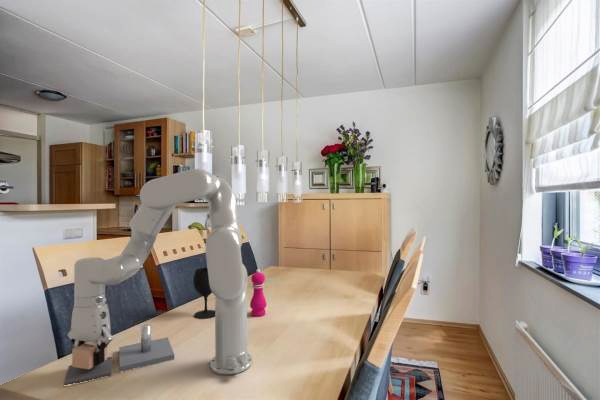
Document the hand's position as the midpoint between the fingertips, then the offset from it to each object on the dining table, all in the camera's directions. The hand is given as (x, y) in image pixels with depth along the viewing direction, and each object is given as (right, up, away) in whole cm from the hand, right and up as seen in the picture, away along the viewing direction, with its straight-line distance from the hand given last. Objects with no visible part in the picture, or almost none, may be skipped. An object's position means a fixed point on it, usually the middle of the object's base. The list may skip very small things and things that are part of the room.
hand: (89, 361), depth 92 cm
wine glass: (+20, -4, +47) cm, 51 cm away
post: (+11, -2, +10) cm, 15 cm away
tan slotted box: (0, 0, 0) cm, 0 cm away
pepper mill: (+43, -4, +47) cm, 64 cm away
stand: (+11, -3, +10) cm, 16 cm away
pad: (0, -3, 0) cm, 3 cm away
